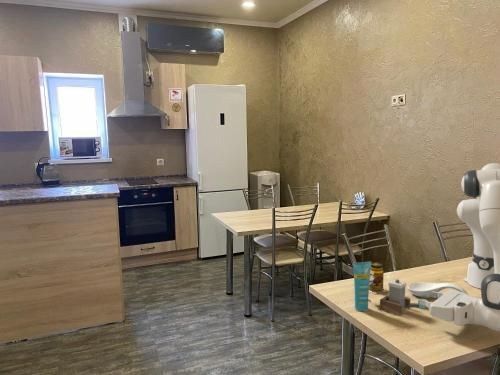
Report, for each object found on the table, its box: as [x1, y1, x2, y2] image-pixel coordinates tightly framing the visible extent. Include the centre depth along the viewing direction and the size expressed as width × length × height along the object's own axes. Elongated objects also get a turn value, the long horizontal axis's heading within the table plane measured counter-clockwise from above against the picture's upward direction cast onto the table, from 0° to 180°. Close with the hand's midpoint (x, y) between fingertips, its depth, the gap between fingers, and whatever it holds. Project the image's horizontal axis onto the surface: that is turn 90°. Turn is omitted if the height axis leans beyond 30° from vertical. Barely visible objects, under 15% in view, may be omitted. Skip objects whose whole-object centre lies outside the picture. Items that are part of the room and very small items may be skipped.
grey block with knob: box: [388, 278, 407, 312], centre depth 147 cm, size 5×5×12 cm
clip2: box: [417, 299, 426, 310], centre depth 150 cm, size 2×4×2 cm, turn 168°
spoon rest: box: [406, 281, 469, 299], centre depth 158 cm, size 24×12×7 cm, turn 52°
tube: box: [352, 260, 372, 312], centre depth 148 cm, size 7×5×19 cm, turn 103°
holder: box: [379, 293, 411, 316], centre depth 148 cm, size 9×8×4 cm
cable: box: [410, 302, 428, 309], centre depth 147 cm, size 4×22×2 cm, turn 64°
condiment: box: [369, 262, 388, 295], centre depth 168 cm, size 7×8×12 cm
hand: (426, 297), depth 139 cm, fingers open, 8 cm apart
